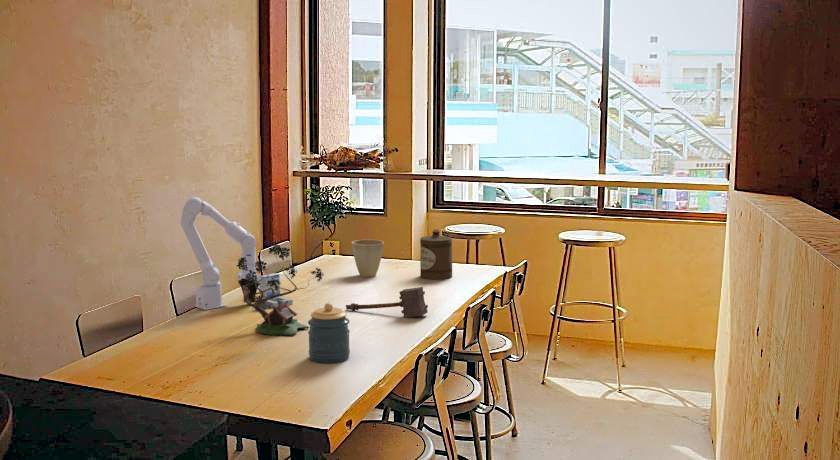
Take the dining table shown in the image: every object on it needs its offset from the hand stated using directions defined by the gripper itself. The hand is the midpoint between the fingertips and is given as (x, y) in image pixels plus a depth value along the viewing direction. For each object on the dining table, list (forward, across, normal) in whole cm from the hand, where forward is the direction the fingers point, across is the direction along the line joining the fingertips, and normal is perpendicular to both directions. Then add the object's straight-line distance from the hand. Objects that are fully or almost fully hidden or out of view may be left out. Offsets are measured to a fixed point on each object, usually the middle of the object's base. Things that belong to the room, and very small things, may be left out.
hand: (249, 298), depth 341 cm
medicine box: (+3, +9, -16) cm, 18 cm away
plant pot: (+2, +12, -72) cm, 73 cm away
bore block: (+3, -7, -8) cm, 11 cm away
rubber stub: (+3, -10, 0) cm, 10 cm away
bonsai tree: (+3, -46, +14) cm, 48 cm away
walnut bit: (+2, 0, 0) cm, 2 cm away
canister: (+3, -80, +20) cm, 82 cm away
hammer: (+3, -48, -30) cm, 57 cm away
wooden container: (+2, -11, -94) cm, 94 cm away
